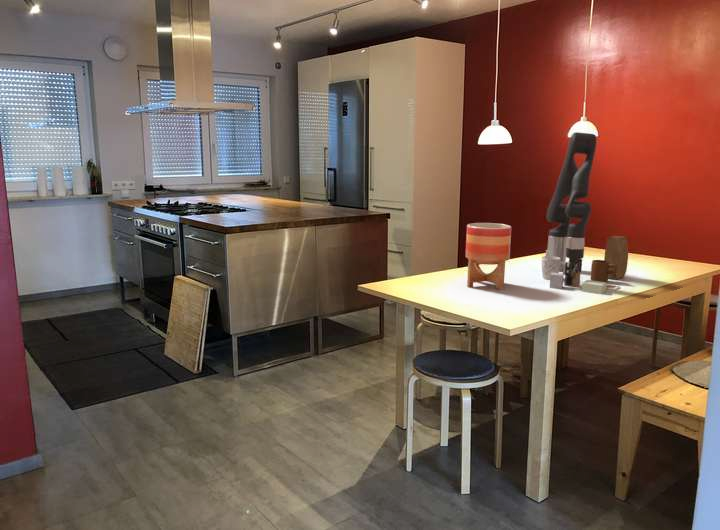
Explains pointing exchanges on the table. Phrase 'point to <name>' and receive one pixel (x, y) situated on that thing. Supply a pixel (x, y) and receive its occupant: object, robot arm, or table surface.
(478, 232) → the planter
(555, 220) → the robot arm
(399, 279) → the table surface
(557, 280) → the grey block
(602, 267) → the mug
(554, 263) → the mug
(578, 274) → the walnut block
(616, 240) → the brown tall piece
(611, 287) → the tile
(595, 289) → the base block
